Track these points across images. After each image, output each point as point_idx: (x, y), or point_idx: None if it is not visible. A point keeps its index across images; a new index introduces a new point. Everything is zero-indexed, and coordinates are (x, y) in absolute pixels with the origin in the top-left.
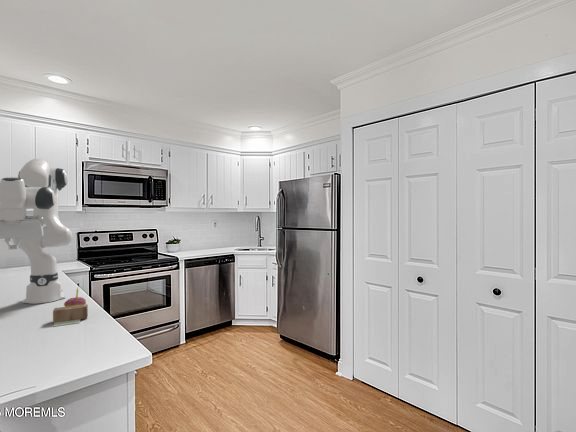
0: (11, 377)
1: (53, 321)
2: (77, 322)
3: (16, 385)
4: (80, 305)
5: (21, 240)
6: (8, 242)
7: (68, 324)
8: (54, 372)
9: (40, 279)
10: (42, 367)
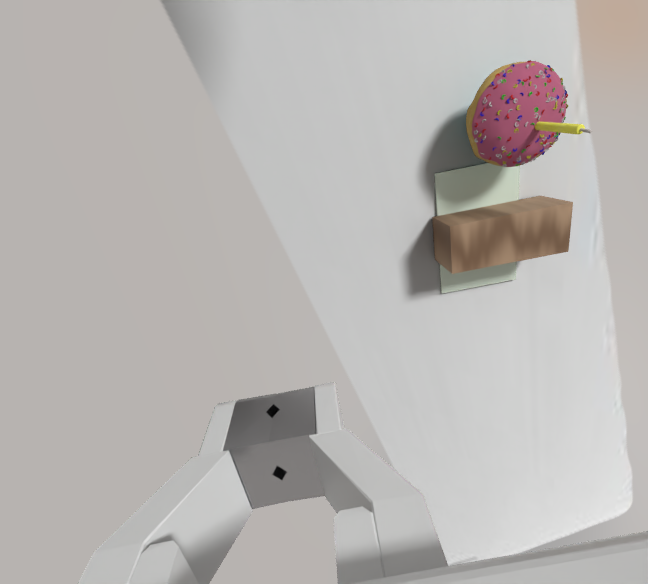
0: None
1: (437, 260)
2: (510, 279)
3: (450, 552)
4: (545, 217)
5: (423, 505)
6: (209, 570)
7: (483, 284)
8: (493, 531)
9: None
10: (472, 514)
